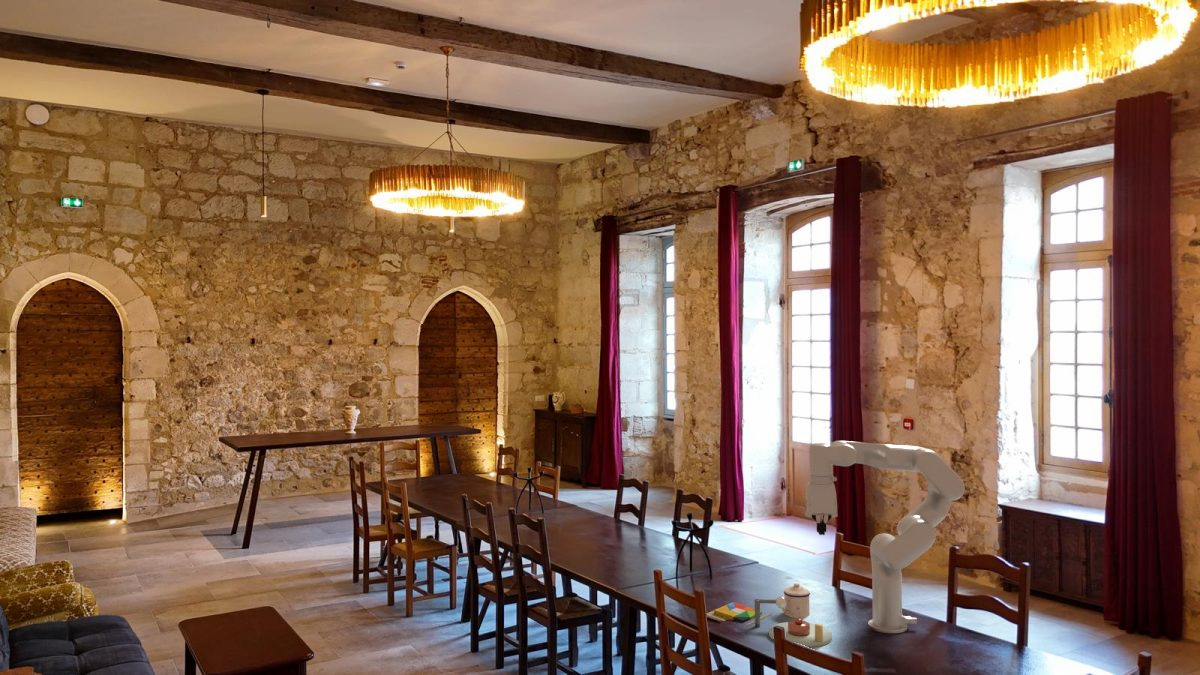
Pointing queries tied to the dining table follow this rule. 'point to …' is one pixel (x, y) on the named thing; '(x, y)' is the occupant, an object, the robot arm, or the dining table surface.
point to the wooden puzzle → (735, 613)
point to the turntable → (814, 639)
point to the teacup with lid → (796, 601)
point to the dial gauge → (779, 602)
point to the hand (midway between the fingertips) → (821, 534)
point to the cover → (798, 627)
